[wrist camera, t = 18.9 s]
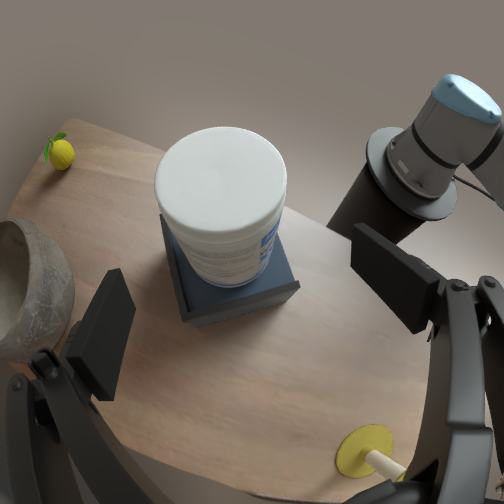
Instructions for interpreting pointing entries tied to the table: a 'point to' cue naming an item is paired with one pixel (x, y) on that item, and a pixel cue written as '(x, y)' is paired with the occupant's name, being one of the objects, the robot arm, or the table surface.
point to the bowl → (31, 290)
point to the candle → (369, 454)
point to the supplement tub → (223, 202)
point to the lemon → (59, 152)
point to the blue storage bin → (226, 299)
